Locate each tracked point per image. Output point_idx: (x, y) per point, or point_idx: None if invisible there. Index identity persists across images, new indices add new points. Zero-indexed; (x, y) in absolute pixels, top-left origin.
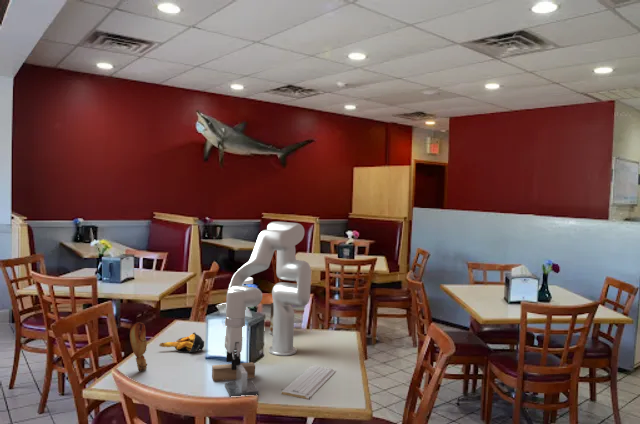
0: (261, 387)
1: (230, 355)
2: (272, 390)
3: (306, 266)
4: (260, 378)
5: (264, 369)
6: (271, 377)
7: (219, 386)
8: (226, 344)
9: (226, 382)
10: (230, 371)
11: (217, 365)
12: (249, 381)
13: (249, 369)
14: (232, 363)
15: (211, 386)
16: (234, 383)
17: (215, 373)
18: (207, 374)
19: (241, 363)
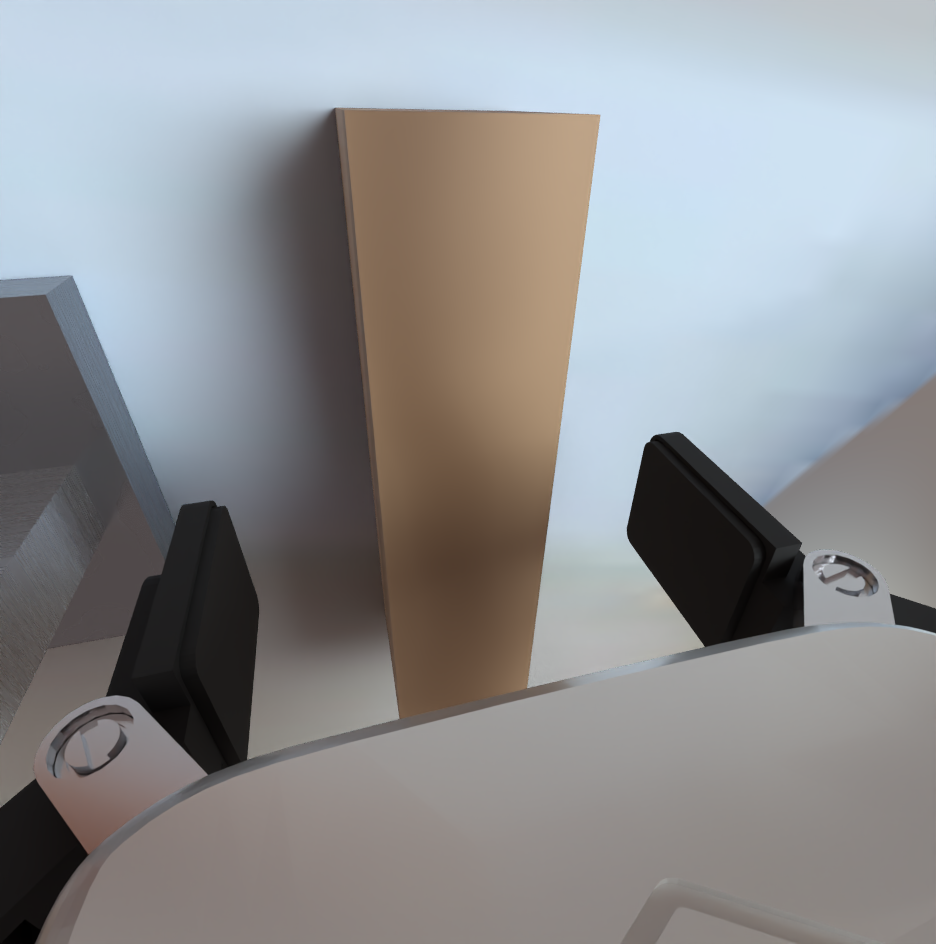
0: (90, 668)
1: (695, 552)
2: (10, 742)
3: None
4: (356, 653)
5: (567, 670)
6: (367, 717)
7: (70, 186)
8: (742, 887)
9: (52, 325)
10: (371, 439)
11: (557, 243)
12: (131, 609)
13: (392, 650)
14: (157, 602)
15: (52, 12)
16: (16, 443)
17: (345, 156)
18: (669, 50)
19: (527, 607)
